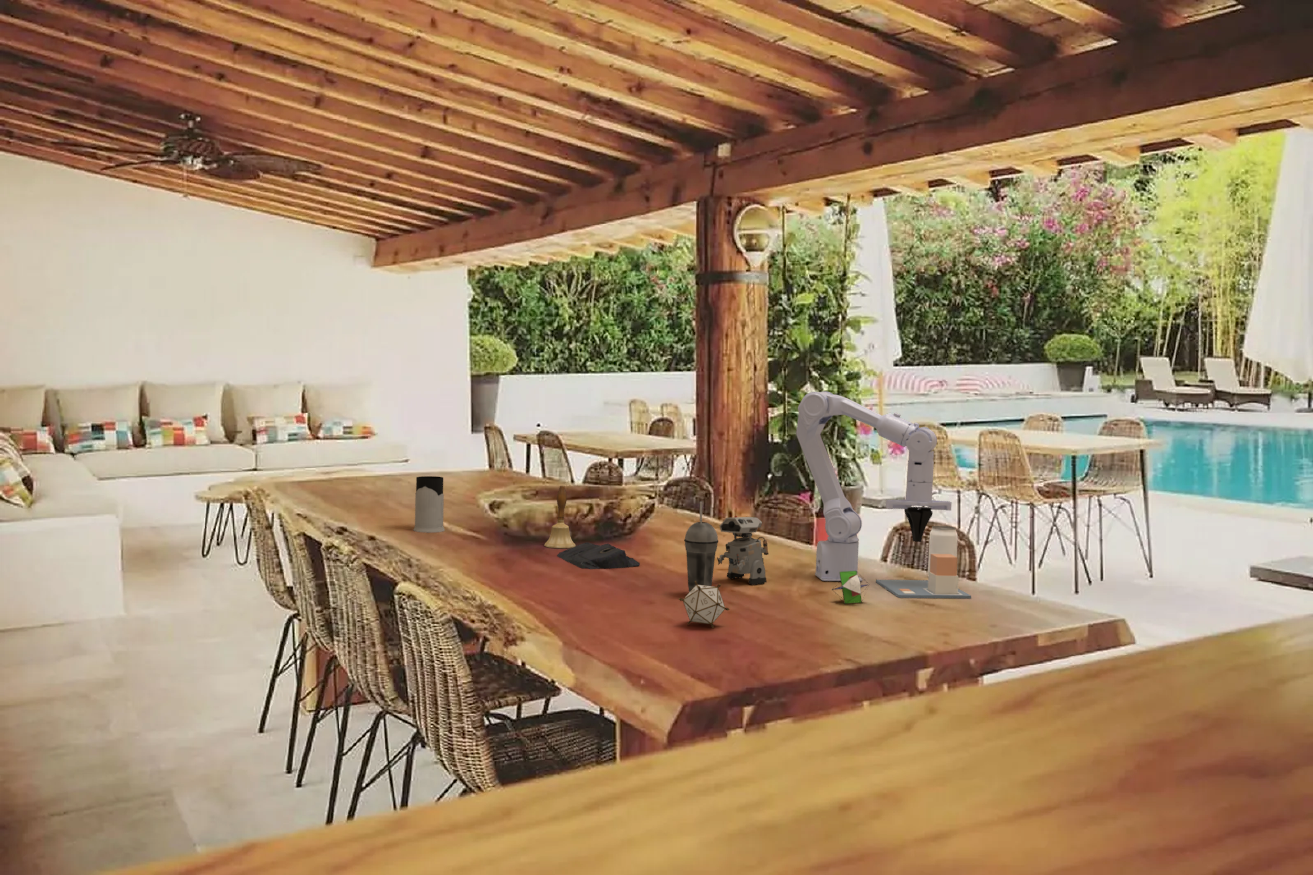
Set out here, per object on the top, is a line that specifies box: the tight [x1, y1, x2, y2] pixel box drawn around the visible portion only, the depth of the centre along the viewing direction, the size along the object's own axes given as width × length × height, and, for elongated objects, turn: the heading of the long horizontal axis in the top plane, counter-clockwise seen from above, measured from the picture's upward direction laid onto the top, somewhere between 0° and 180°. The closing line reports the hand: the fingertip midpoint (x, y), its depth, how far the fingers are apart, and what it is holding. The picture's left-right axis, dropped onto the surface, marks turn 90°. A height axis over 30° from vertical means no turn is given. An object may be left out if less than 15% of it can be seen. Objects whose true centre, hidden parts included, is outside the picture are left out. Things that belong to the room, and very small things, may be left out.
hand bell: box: [543, 485, 577, 549], centre depth 310 cm, size 8×8×16 cm
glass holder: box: [413, 475, 446, 534], centre depth 334 cm, size 9×14×15 cm, turn 171°
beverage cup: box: [684, 501, 719, 593], centre depth 249 cm, size 7×7×20 cm
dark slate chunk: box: [556, 541, 640, 570], centre depth 288 cm, size 15×22×5 cm
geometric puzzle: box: [831, 570, 871, 605], centre depth 246 cm, size 7×7×8 cm
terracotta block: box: [930, 554, 958, 576], centre depth 257 cm, size 4×4×4 cm
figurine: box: [716, 515, 769, 586], centre depth 265 cm, size 9×12×15 cm
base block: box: [927, 572, 959, 594], centre depth 257 cm, size 5×5×4 cm
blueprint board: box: [875, 579, 972, 600], centre depth 262 cm, size 16×18×1 cm
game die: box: [678, 581, 731, 629], centre depth 220 cm, size 9×8×10 cm
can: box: [927, 525, 959, 575], centre depth 278 cm, size 6×6×12 cm
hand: (916, 541), depth 265 cm, fingers closed
